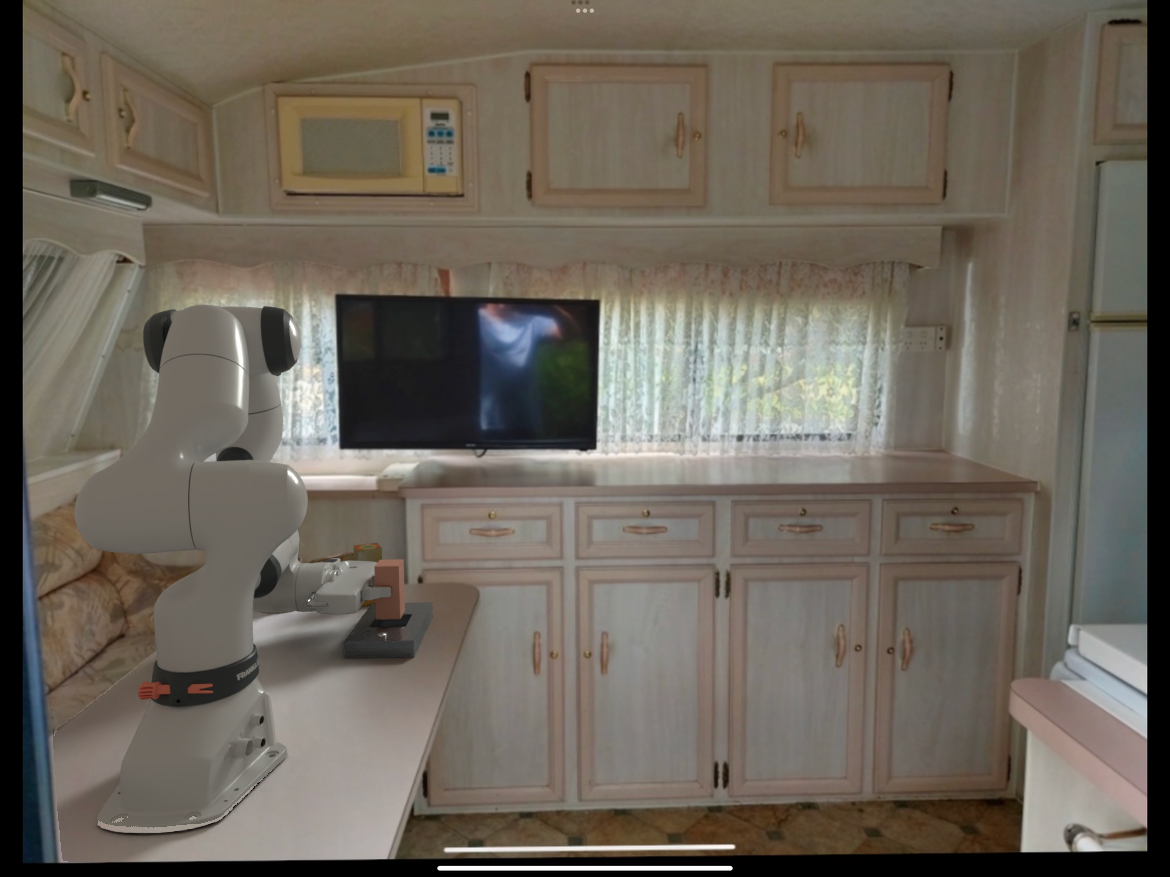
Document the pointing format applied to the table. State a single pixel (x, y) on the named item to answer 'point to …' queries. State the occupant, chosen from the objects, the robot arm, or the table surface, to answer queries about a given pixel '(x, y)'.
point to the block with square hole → (389, 633)
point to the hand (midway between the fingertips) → (394, 586)
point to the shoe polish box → (368, 558)
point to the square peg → (393, 576)
